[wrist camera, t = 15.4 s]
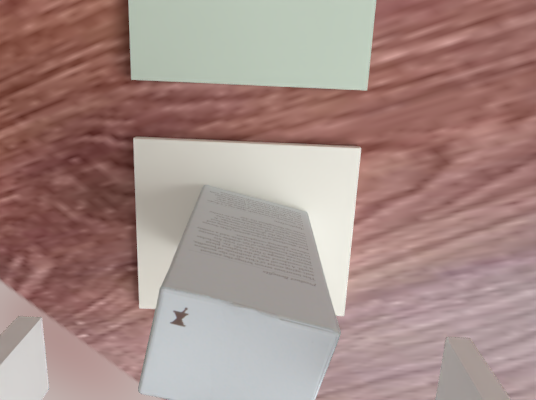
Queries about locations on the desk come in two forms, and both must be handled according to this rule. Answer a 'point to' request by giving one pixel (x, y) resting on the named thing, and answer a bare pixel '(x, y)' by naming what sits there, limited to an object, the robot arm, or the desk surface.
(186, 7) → the shorter pad
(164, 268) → the taller pad
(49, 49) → the desk surface
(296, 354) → the skincare box
